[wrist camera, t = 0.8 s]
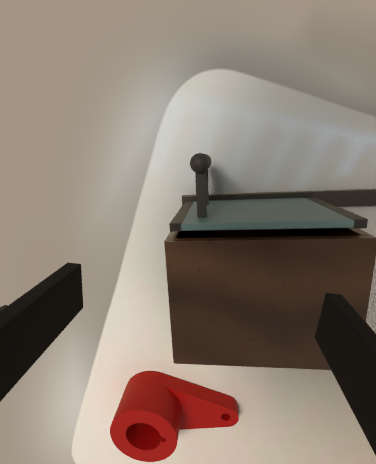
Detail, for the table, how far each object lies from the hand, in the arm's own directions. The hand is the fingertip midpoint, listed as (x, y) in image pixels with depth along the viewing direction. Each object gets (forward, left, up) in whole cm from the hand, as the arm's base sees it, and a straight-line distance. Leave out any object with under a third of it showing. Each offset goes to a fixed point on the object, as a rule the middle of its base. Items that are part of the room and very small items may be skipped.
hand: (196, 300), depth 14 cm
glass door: (-6, -3, -19) cm, 20 cm away
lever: (+15, +26, -21) cm, 36 cm away
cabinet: (-7, +7, -20) cm, 22 cm away
